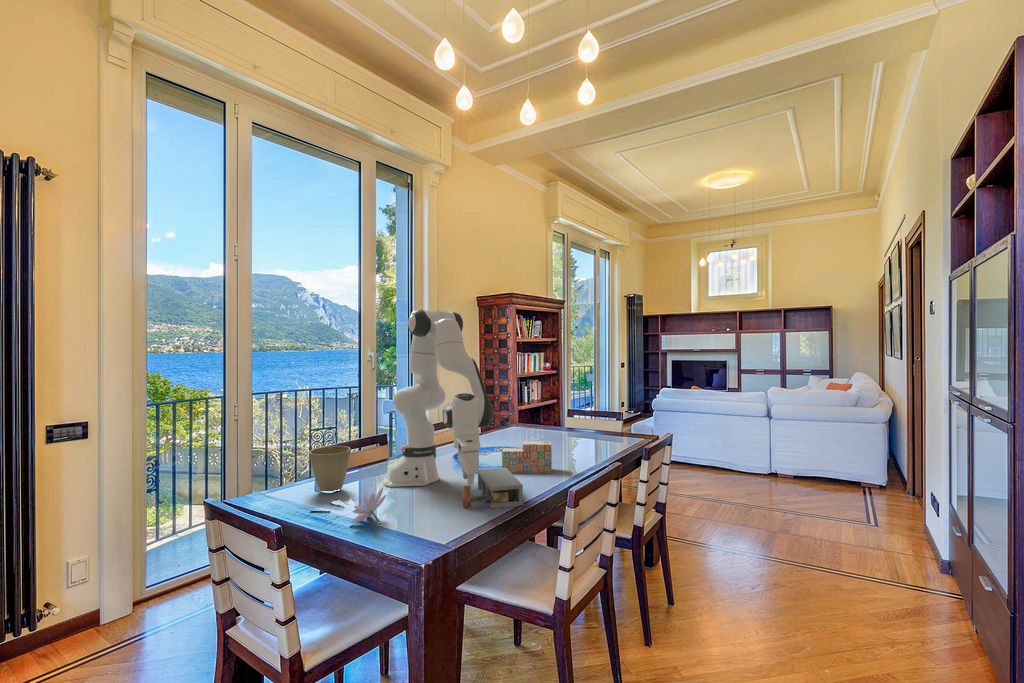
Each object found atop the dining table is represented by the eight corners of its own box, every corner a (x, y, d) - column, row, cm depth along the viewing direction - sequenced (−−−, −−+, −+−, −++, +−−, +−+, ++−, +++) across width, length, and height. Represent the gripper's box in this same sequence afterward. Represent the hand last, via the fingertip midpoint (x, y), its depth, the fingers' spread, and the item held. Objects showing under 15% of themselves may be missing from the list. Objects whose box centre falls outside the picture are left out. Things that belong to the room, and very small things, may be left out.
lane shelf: (491, 508, 171) (490, 487, 171) (478, 488, 195) (477, 469, 195) (522, 505, 174) (522, 484, 174) (506, 485, 198) (506, 467, 198)
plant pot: (306, 490, 198) (305, 449, 198) (344, 483, 206) (343, 444, 206) (315, 499, 185) (315, 456, 185) (356, 492, 194) (355, 450, 194)
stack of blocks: (502, 473, 218) (501, 444, 218) (503, 469, 224) (502, 441, 224) (552, 473, 216) (551, 444, 216) (552, 469, 222) (551, 441, 222)
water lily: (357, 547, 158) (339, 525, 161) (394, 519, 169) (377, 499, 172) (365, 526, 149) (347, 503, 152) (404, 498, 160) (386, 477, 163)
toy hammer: (464, 509, 171) (463, 488, 171) (462, 505, 176) (461, 484, 176) (508, 505, 175) (507, 485, 175) (504, 500, 180) (504, 481, 180)
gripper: (453, 437, 183) (454, 475, 183) (462, 447, 163) (463, 490, 163) (470, 435, 185) (472, 474, 184) (481, 446, 165) (483, 488, 165)
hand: (468, 482), depth 174 cm, fingers open, 8 cm apart
